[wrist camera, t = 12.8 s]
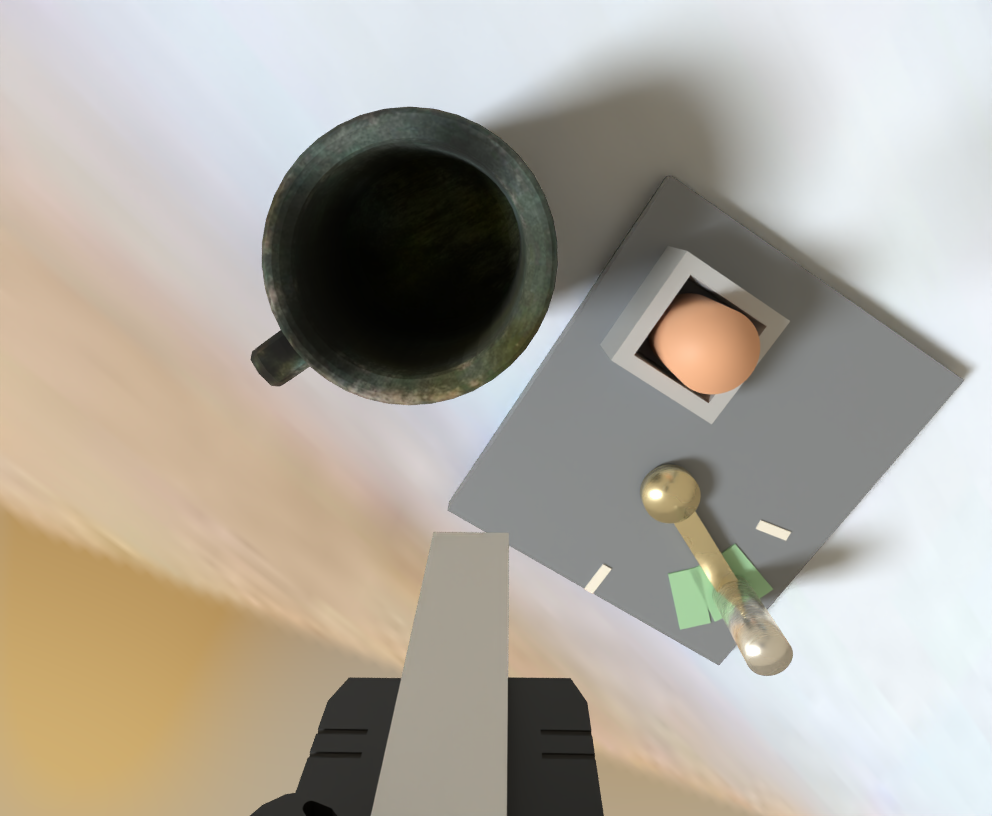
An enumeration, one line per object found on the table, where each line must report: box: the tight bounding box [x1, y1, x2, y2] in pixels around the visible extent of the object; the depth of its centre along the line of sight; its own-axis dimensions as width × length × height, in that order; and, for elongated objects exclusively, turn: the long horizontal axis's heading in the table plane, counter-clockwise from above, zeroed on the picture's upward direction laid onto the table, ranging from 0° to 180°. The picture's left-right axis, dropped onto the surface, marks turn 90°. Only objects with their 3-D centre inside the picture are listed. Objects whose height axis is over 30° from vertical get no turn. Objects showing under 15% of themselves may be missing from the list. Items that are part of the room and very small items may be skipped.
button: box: [648, 293, 760, 394], centre depth 33 cm, size 4×4×5 cm
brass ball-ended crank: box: [640, 465, 793, 676], centre depth 37 cm, size 11×3×6 cm, turn 33°
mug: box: [251, 107, 557, 405], centre depth 31 cm, size 11×15×12 cm
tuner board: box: [448, 176, 964, 665], centre depth 38 cm, size 22×20×5 cm
